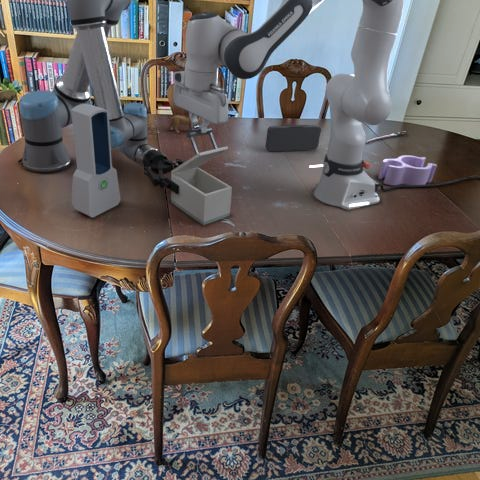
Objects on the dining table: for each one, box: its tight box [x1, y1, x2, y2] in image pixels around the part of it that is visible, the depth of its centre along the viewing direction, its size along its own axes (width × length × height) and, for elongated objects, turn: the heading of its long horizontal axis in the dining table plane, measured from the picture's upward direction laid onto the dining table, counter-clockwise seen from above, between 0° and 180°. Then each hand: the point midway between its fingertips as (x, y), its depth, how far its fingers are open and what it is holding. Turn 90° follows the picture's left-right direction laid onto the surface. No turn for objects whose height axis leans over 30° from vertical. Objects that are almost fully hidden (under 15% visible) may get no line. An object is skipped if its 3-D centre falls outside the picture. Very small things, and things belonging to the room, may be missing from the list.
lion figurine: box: [166, 114, 202, 134], centre depth 195 cm, size 15×5×9 cm, turn 110°
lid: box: [170, 125, 229, 174], centre depth 136 cm, size 17×10×8 cm
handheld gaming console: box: [264, 124, 322, 152], centre depth 189 cm, size 23×3×10 cm, turn 108°
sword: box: [365, 132, 406, 144], centre depth 214 cm, size 31×3×1 cm, turn 126°
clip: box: [377, 154, 438, 186], centre depth 174 cm, size 20×12×7 cm, turn 109°
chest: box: [170, 166, 233, 226], centre depth 141 cm, size 16×10×10 cm, turn 42°
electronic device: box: [70, 104, 122, 218], centre depth 130 cm, size 12×8×30 cm, turn 148°
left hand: (192, 185), depth 142 cm, fingers closed on chest, 10 cm apart
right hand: (199, 130), depth 131 cm, fingers closed
